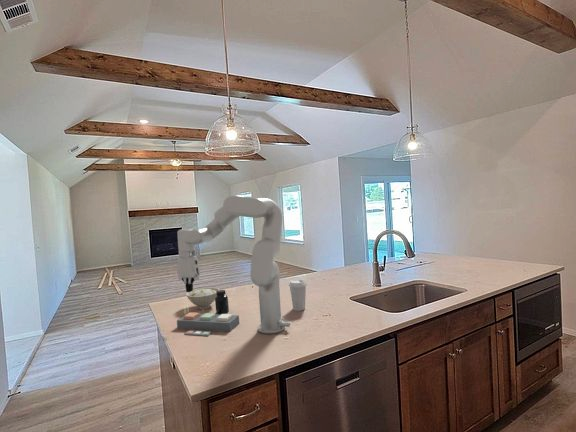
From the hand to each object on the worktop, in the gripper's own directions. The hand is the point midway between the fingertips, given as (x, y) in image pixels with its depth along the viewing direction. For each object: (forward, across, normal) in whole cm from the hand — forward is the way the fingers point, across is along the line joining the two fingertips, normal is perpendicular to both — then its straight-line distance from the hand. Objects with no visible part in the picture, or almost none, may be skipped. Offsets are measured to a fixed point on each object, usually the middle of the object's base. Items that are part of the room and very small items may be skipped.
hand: (189, 291), depth 157 cm
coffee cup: (+17, -47, -29) cm, 58 cm away
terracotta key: (+15, 0, 0) cm, 15 cm away
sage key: (+14, -9, 0) cm, 17 cm away
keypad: (+17, -9, 0) cm, 19 cm away
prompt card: (+17, -9, +9) cm, 21 cm away
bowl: (+17, +9, -26) cm, 32 cm away
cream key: (+14, -18, 0) cm, 23 cm away
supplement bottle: (+17, -7, -18) cm, 26 cm away
